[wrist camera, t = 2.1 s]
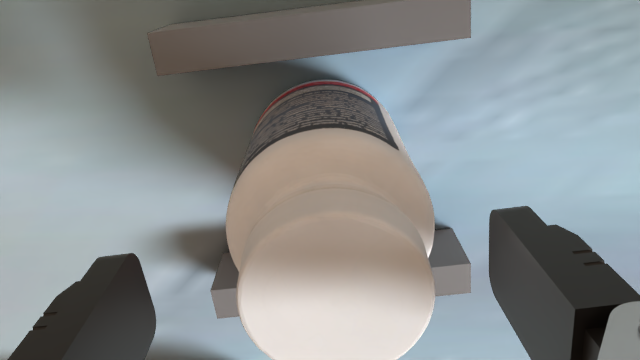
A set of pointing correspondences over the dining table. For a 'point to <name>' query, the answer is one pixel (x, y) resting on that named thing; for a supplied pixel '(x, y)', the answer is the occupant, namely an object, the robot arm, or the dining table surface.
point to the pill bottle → (331, 230)
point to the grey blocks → (310, 41)
